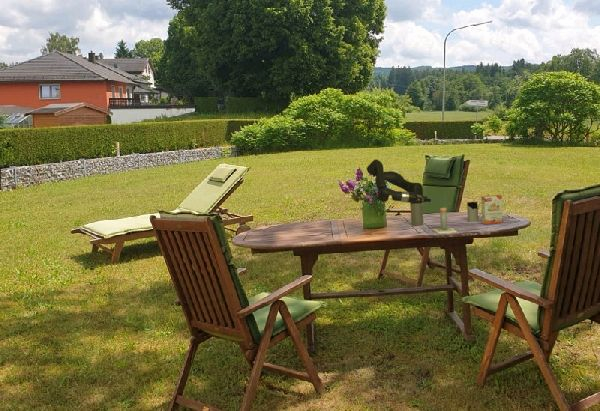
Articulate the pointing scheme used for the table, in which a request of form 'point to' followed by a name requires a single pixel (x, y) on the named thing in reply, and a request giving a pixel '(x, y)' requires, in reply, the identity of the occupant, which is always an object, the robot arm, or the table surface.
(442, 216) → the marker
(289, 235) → the table surface
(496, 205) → the cracker box
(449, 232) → the paper sheet
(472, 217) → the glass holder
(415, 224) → the robot arm
